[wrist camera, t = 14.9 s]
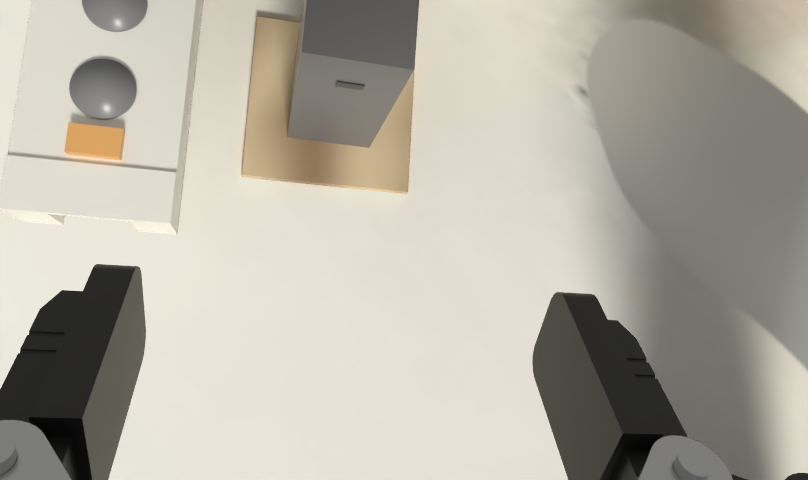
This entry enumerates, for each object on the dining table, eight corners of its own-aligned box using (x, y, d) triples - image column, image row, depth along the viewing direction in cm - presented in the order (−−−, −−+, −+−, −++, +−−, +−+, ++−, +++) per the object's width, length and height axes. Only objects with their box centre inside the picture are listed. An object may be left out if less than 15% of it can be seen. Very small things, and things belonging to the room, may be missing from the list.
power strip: (212, -88, 39) (209, -131, 36) (177, 234, 36) (169, 221, 33) (70, -113, 38) (52, -160, 34) (19, 221, 35) (-6, 206, 31)
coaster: (413, 43, 41) (415, 40, 40) (405, 193, 39) (407, 191, 39) (256, 20, 39) (256, 16, 38) (241, 176, 37) (241, 174, 37)
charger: (377, 38, 40) (424, -77, 29) (369, 148, 39) (413, 71, 28) (298, 25, 39) (316, -98, 28) (286, 138, 38) (301, 53, 27)
